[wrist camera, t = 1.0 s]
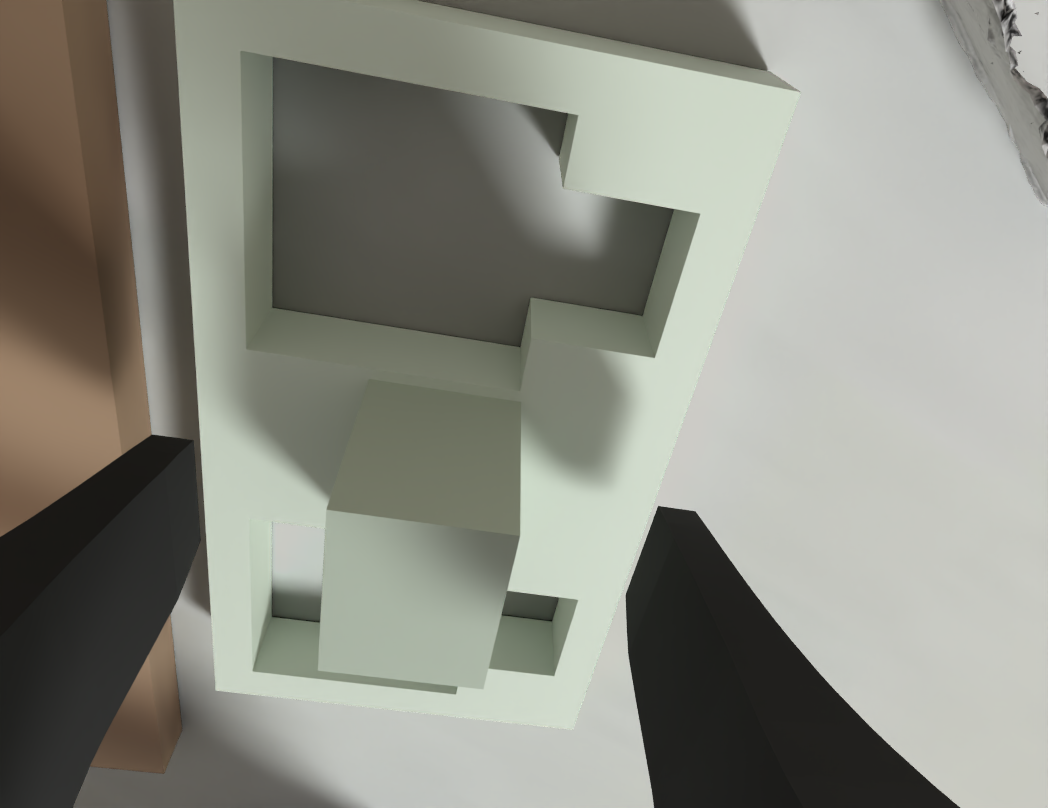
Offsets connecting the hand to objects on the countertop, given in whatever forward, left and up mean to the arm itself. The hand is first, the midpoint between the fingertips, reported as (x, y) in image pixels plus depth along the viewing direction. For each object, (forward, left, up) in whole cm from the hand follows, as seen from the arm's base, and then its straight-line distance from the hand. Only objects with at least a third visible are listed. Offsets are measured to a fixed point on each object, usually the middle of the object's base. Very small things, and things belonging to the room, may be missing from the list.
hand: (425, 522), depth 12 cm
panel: (0, 0, -3) cm, 3 cm away
